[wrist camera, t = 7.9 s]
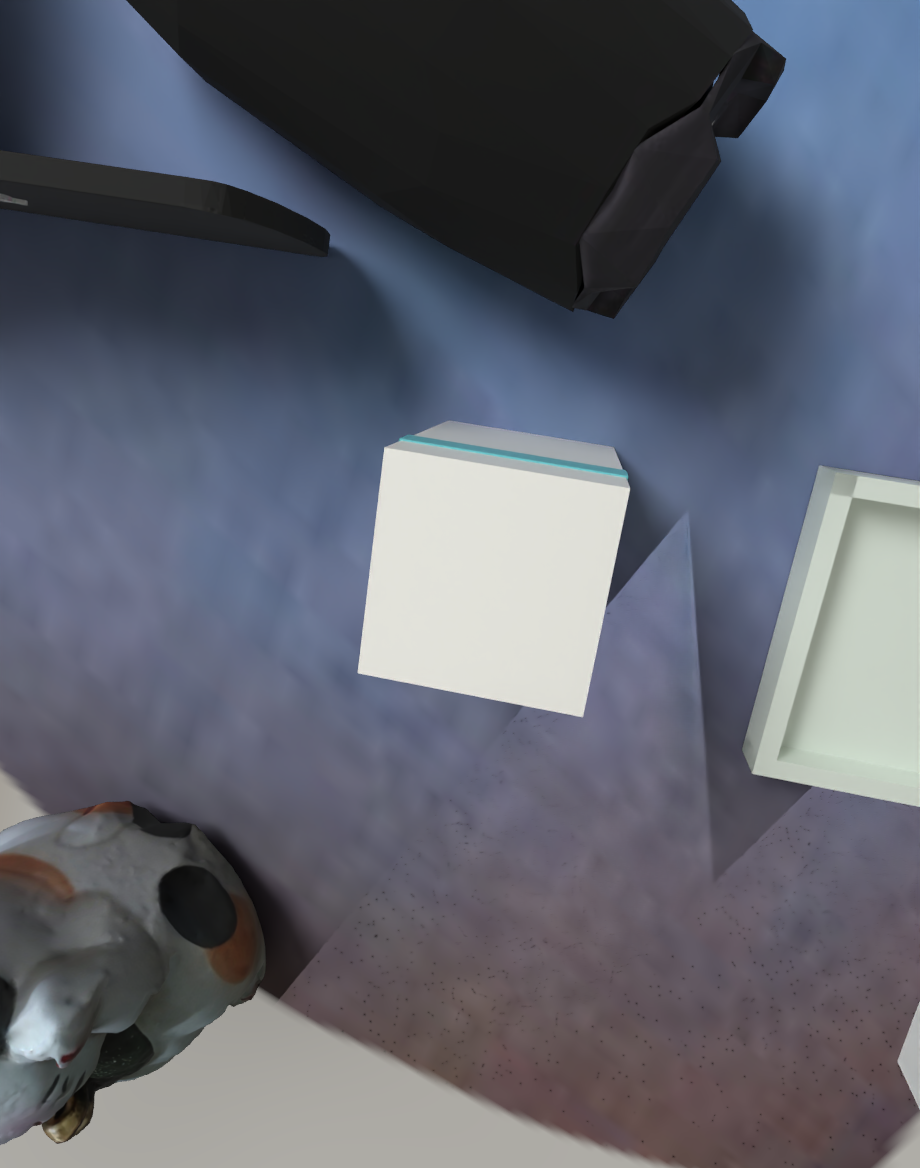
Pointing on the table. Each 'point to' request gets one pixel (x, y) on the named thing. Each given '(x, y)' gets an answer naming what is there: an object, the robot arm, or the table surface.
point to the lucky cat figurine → (111, 956)
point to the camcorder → (154, 203)
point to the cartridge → (493, 564)
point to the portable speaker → (499, 116)
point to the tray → (847, 646)
